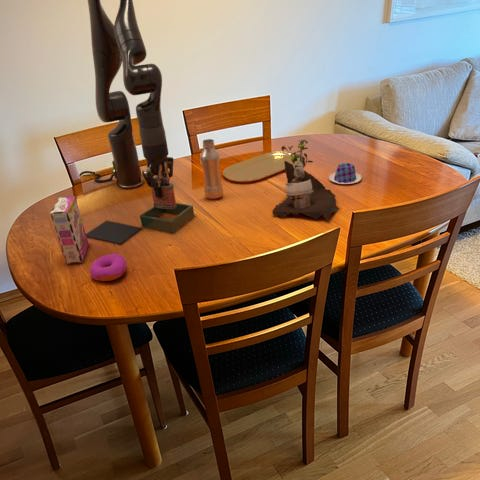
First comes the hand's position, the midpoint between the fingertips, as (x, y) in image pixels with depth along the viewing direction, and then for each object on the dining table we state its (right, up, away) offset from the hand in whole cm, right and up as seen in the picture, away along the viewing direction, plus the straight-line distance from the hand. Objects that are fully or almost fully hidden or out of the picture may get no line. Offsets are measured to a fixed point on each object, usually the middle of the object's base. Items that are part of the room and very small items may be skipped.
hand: (163, 194), depth 148 cm
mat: (-17, -12, +2) cm, 21 cm away
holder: (+1, -7, +6) cm, 9 cm away
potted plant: (+47, -2, +8) cm, 48 cm away
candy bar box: (-24, -20, -7) cm, 33 cm away
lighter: (0, -3, +3) cm, 4 cm away
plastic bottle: (+15, +4, +19) cm, 25 cm away
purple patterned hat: (+64, +12, +23) cm, 69 cm away
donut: (-12, -27, -17) cm, 35 cm away
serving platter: (+34, +20, +37) cm, 54 cm away
